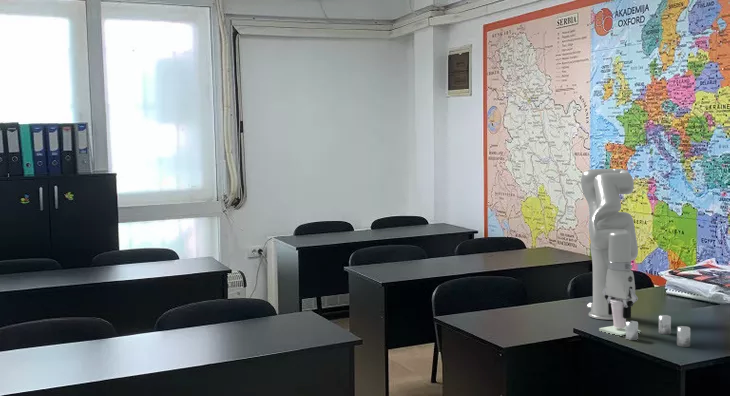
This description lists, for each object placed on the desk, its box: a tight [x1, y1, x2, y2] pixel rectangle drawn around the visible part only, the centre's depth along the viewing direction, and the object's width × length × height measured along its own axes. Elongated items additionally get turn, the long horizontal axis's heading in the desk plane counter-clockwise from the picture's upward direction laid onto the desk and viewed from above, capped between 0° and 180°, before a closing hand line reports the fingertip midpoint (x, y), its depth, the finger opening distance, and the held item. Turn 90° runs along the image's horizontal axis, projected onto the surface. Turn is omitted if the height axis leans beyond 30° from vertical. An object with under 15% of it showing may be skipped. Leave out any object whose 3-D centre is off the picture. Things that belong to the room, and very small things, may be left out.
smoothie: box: [610, 298, 628, 328], centre depth 255 cm, size 6×6×14 cm
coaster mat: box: [598, 325, 642, 336], centre depth 255 cm, size 10×10×1 cm
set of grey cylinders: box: [625, 314, 691, 348], centre depth 242 cm, size 18×20×6 cm
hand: (619, 315), depth 255 cm, fingers closed on smoothie, 6 cm apart
